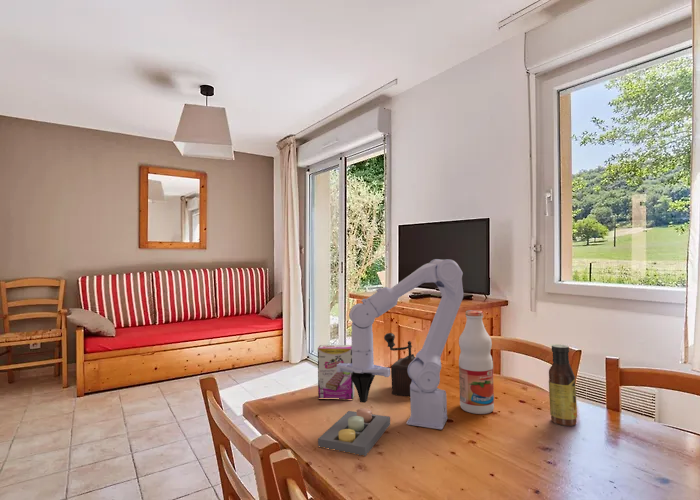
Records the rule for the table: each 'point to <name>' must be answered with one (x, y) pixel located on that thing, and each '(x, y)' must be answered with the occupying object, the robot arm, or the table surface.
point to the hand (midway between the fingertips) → (363, 401)
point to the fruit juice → (476, 366)
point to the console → (362, 440)
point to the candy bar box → (334, 372)
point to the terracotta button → (365, 414)
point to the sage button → (356, 423)
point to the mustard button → (347, 435)
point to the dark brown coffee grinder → (400, 369)
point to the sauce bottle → (562, 388)
